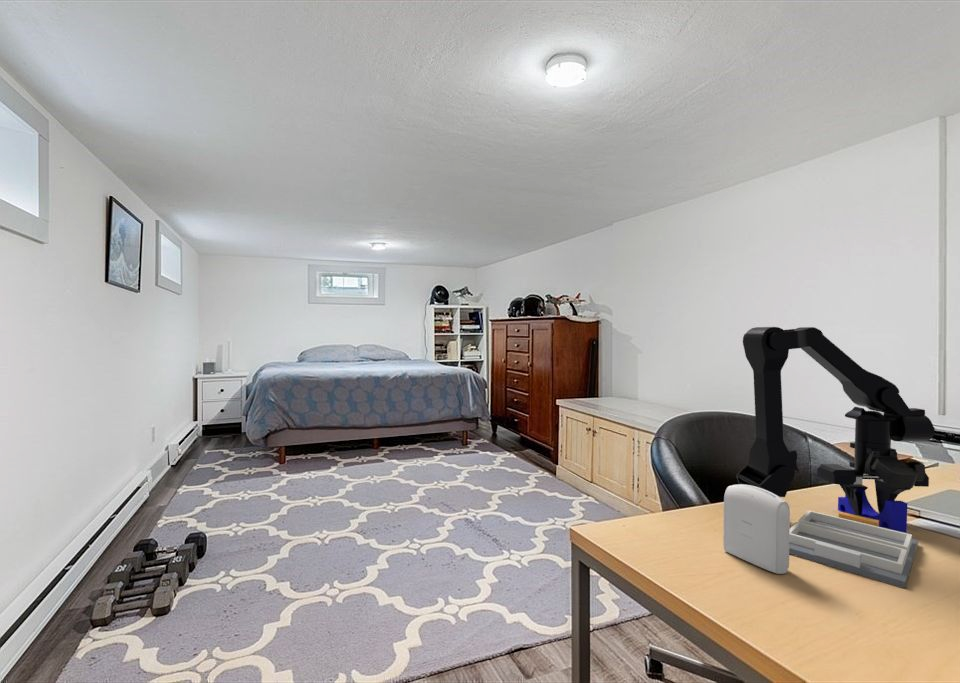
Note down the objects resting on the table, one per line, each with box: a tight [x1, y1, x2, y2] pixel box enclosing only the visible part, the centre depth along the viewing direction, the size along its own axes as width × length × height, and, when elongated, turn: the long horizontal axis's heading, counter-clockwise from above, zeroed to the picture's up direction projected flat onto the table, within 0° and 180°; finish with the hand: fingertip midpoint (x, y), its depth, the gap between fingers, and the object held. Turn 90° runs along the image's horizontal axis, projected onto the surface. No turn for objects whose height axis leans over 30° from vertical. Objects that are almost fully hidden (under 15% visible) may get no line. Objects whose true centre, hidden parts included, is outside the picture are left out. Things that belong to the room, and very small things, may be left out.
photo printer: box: [723, 483, 791, 575], centre depth 80 cm, size 10×4×12 cm, turn 26°
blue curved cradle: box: [837, 490, 908, 534], centre depth 98 cm, size 12×4×6 cm, turn 179°
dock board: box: [789, 509, 919, 589], centre depth 86 cm, size 22×17×3 cm
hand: (870, 516), depth 98 cm, fingers closed on blue curved cradle, 4 cm apart
